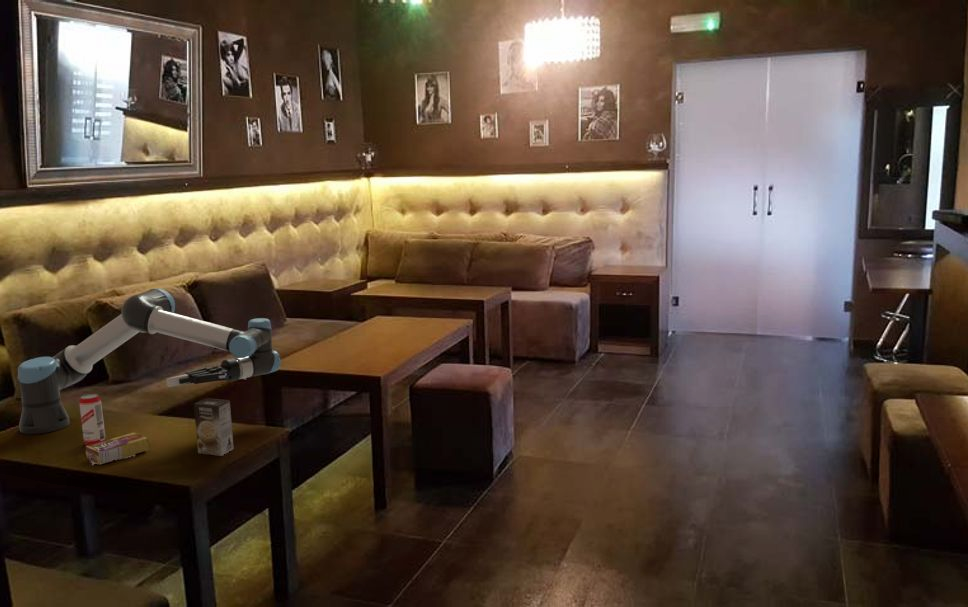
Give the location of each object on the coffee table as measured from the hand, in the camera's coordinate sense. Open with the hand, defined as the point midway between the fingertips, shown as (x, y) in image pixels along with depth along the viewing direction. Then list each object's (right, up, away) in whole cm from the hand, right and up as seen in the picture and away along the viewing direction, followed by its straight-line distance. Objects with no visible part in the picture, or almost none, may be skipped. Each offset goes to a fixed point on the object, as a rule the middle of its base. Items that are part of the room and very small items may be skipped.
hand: (167, 382), depth 253 cm
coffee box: (+18, -21, -8) cm, 28 cm away
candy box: (-7, -18, -4) cm, 20 cm away
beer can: (-24, -20, +2) cm, 31 cm away
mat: (-14, -21, -8) cm, 27 cm away
